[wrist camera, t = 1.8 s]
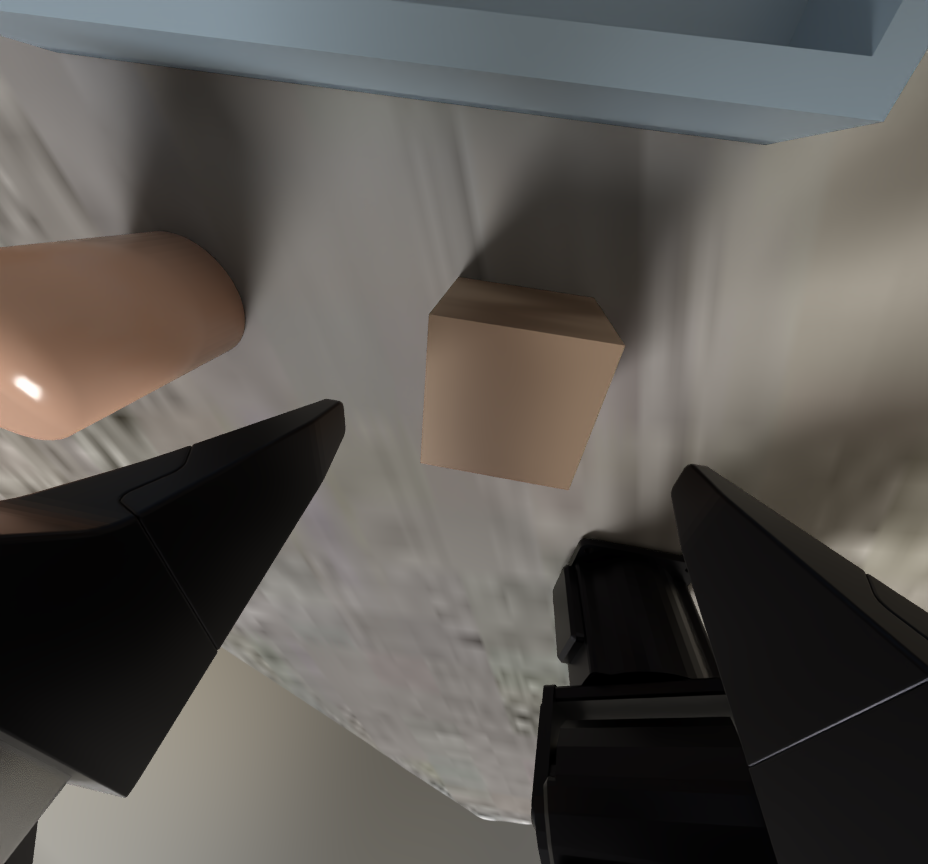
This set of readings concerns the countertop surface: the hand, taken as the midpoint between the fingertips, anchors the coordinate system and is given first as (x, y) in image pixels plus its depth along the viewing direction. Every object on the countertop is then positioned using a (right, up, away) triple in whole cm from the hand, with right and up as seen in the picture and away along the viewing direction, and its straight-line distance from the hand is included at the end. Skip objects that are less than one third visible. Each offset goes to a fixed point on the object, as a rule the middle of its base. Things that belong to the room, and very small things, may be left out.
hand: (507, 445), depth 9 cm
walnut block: (+1, +4, +5) cm, 6 cm away
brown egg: (-13, +6, +6) cm, 15 cm away
